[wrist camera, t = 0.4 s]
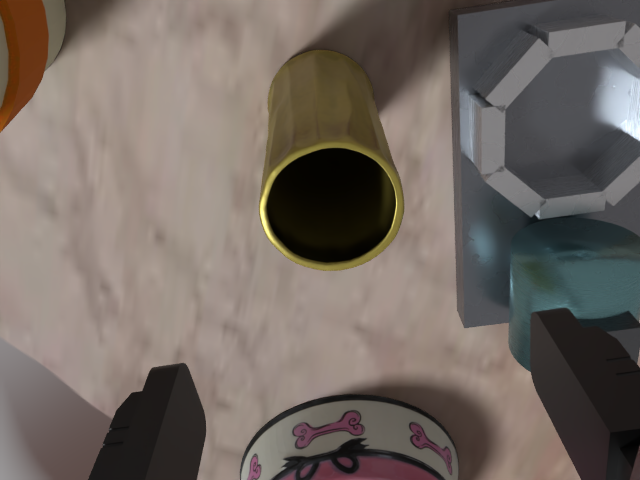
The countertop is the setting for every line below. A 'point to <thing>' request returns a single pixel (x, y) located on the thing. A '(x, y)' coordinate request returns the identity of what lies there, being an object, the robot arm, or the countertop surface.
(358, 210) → the vase
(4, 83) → the reusable coffee cup
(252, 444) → the dog bowl
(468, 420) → the countertop surface
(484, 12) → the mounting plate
